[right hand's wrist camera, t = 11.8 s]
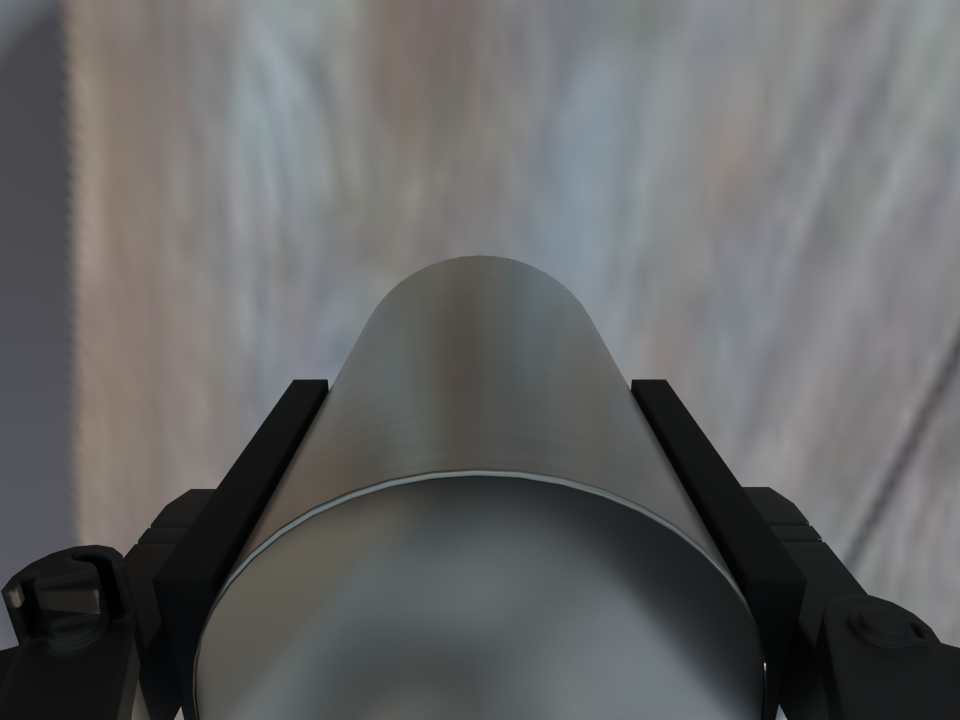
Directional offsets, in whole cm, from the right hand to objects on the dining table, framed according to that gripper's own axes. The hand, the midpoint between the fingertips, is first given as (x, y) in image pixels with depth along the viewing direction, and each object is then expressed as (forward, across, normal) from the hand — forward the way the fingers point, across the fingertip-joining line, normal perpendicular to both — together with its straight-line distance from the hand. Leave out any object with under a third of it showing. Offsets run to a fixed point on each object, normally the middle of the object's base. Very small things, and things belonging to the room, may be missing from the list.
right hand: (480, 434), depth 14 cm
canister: (+3, 0, 0) cm, 3 cm away
